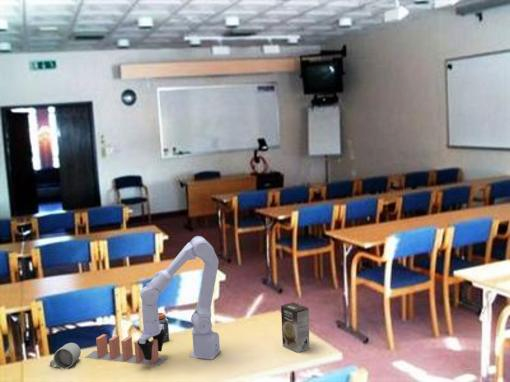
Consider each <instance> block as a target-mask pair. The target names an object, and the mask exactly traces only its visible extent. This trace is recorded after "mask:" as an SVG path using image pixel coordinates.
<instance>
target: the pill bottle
mask: <svg viewBox="0 0 510 382" xmlns="http://www.w3.org/2000/svg"><path fill="white" fill-rule="evenodd" d="M158 315H159V324H164V330H162V331H166V335H165V337H164V341H163V344H166V343H168V342H169V341H170V330H169V320H168V318H166V313H164V312H158Z"/></svg>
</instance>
